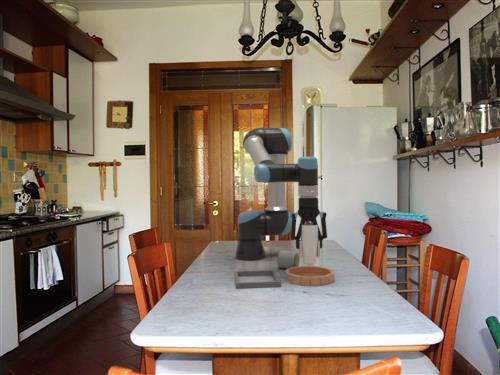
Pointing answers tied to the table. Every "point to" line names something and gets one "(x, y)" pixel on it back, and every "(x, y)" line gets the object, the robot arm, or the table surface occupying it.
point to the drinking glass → (309, 243)
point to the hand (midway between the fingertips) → (309, 257)
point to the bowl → (309, 275)
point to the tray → (257, 284)
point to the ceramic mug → (288, 259)
